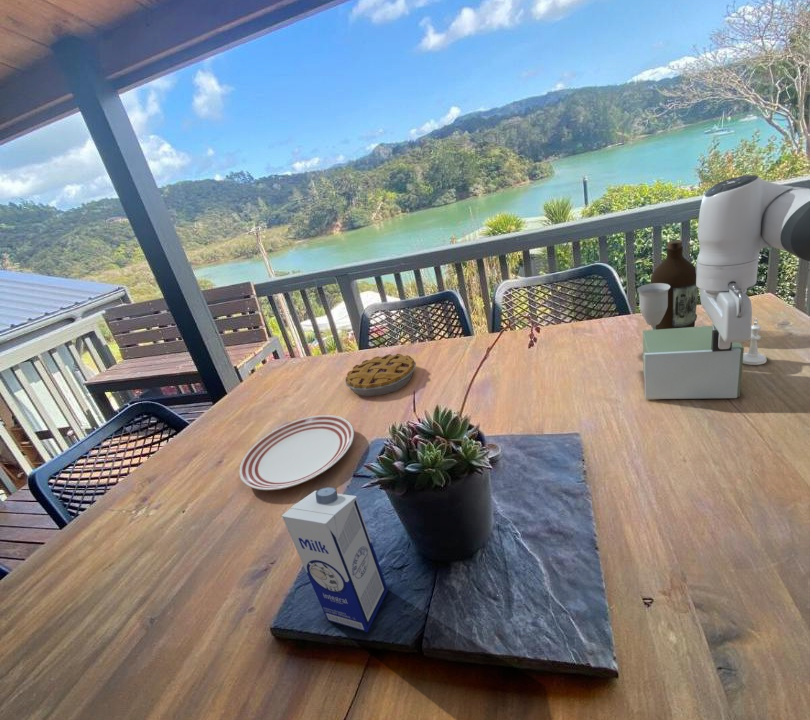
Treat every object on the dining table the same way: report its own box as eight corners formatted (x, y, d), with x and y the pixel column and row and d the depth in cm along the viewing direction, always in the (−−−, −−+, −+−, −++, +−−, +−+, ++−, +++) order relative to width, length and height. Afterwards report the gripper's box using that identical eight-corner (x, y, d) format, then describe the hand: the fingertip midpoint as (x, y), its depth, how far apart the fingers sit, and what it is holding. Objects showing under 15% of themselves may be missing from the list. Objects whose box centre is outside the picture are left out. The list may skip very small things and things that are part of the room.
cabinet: (739, 396, 87) (744, 348, 83) (648, 397, 94) (648, 352, 89) (724, 369, 97) (727, 324, 93) (643, 372, 104) (642, 330, 99)
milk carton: (326, 620, 62) (279, 514, 55) (349, 580, 68) (310, 479, 60) (368, 632, 59) (325, 522, 52) (389, 589, 65) (353, 484, 57)
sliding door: (737, 398, 86) (742, 330, 80) (645, 399, 93) (644, 337, 87) (735, 395, 87) (740, 328, 81) (644, 396, 94) (644, 334, 88)
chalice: (644, 349, 113) (643, 282, 107) (673, 352, 109) (674, 283, 102) (633, 361, 109) (631, 292, 102) (663, 365, 104) (664, 293, 97)
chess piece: (736, 363, 98) (739, 322, 94) (740, 354, 101) (743, 314, 97) (764, 366, 94) (769, 323, 91) (768, 356, 98) (772, 315, 94)
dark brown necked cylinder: (641, 334, 122) (640, 245, 112) (675, 324, 123) (677, 235, 113) (670, 346, 112) (672, 249, 102) (707, 334, 113) (711, 238, 103)
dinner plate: (320, 503, 86) (315, 490, 85) (218, 494, 97) (212, 482, 96) (375, 425, 109) (371, 414, 108) (287, 425, 120) (283, 415, 119)
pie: (404, 397, 119) (400, 381, 117) (336, 400, 127) (331, 385, 126) (426, 362, 138) (423, 348, 136) (365, 366, 146) (361, 353, 144)
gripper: (767, 290, 68) (759, 368, 73) (732, 258, 85) (727, 323, 90) (718, 295, 71) (714, 370, 76) (693, 262, 88) (692, 326, 93)
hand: (721, 344), depth 83 cm, fingers closed on sliding door
